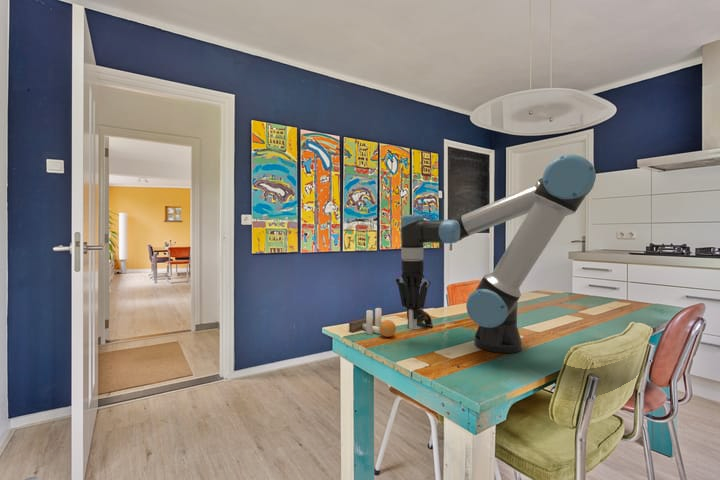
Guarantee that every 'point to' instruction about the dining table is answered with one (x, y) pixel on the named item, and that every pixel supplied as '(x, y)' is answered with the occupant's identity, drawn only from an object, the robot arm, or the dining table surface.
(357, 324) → the back wall
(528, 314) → the dining table surface
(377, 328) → the front pin
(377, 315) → the pin
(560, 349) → the dining table surface
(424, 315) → the pottery mug
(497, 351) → the robot arm
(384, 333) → the ball
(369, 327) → the pin
